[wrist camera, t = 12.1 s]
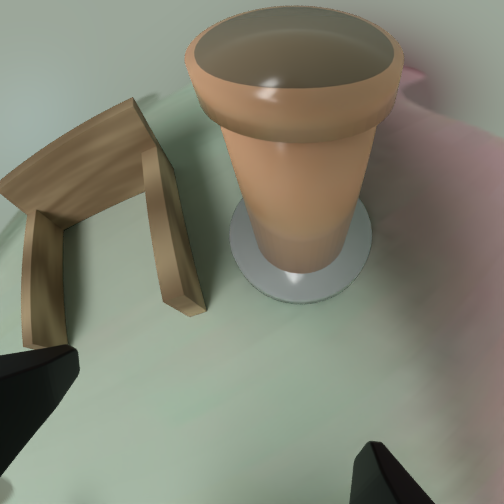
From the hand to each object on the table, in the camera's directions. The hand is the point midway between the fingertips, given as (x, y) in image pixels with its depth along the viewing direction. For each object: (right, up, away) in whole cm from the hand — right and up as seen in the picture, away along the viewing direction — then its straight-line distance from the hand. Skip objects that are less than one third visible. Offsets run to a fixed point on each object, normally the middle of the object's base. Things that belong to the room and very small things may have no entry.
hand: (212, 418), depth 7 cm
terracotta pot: (+4, +6, +11) cm, 13 cm away
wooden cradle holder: (-10, +4, +14) cm, 17 cm away
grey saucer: (+4, +5, +12) cm, 14 cm away
